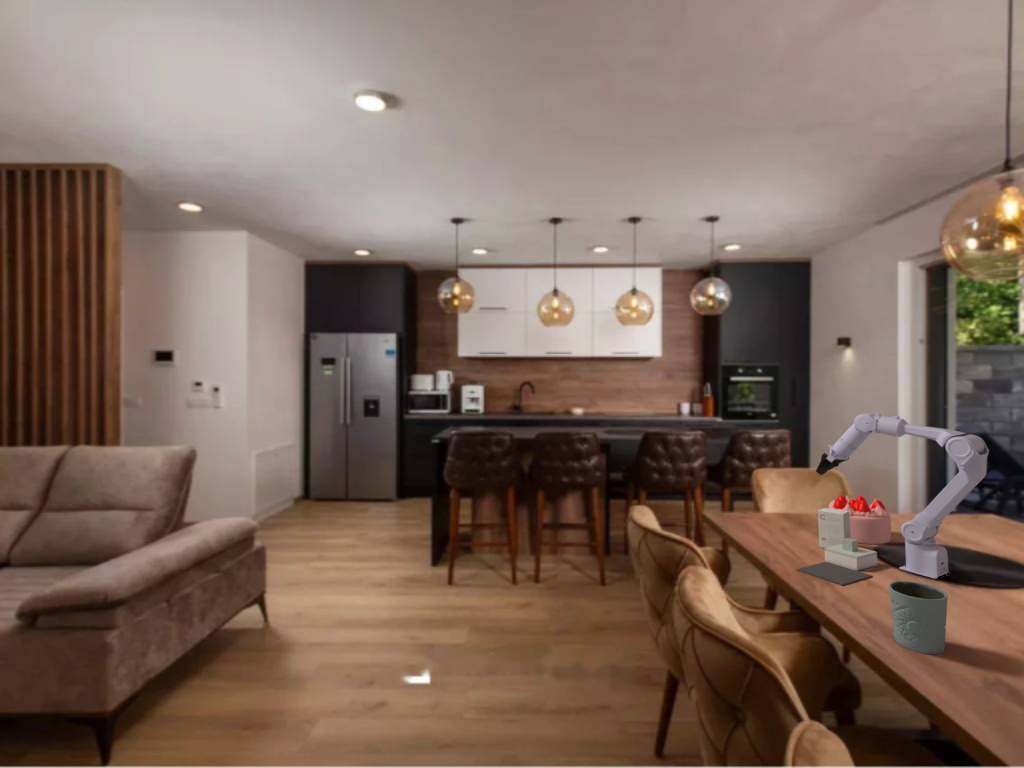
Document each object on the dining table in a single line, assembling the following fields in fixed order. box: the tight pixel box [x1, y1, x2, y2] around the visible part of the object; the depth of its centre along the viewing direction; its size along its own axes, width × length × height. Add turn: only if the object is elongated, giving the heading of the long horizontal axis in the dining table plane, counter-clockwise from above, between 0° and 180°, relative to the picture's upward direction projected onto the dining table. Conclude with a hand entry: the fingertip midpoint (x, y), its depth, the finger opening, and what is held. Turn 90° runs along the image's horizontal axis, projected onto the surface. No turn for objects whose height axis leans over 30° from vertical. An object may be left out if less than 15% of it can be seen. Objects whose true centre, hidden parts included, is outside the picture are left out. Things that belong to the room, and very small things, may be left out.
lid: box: [824, 538, 878, 560], centre depth 159 cm, size 10×10×5 cm
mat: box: [795, 561, 873, 586], centre depth 151 cm, size 14×14×1 cm
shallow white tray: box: [824, 550, 878, 572], centre depth 159 cm, size 10×10×4 cm
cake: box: [827, 494, 892, 545], centre depth 186 cm, size 20×20×14 cm
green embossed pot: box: [888, 580, 949, 655], centre depth 109 cm, size 10×10×12 cm
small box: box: [817, 507, 851, 549], centre depth 175 cm, size 8×6×13 cm
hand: (822, 470), depth 175 cm, fingers open, 7 cm apart
